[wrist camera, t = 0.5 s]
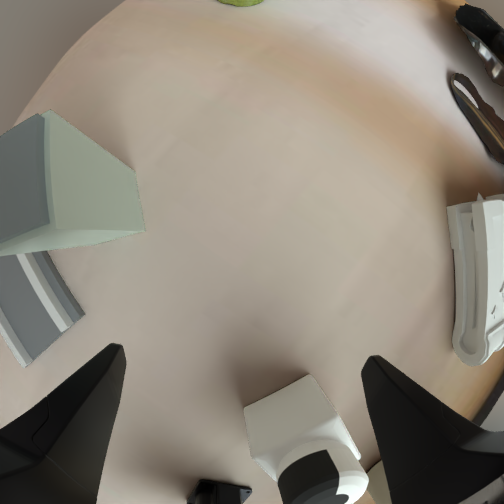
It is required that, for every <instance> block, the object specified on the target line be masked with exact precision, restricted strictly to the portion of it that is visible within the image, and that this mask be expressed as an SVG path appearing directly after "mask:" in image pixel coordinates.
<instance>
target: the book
mask: <svg viewBox="0 0 504 504" xmlns="http://www.w3.org/2000/svg"><path fill="white" fill-rule="evenodd" d="M446 208H447V216H448V225H449V232H450V241H451V249H454V261H455V280H456V321H455V326H454V331H453V336H452V343H453V347H454V351H455V353H456V354H457V356H458V357H459V358H460V359H461V361H462V362H463V363H465V364H466V365H469V366H477V365H482V364H483V363H484V362H486V360H487V359H488V358H489V357H490V356H491V354H492V353H493V352H495V351H499V350H500V349H501V348H502V347H503V346H504V194H497V195H493V196H488V197H486V200H484V199H483V198H482V196H481V195H480V194H479V193H478V197H477V201H472V202H466V203H460V204H456V205H452V206H448V207H446Z"/></svg>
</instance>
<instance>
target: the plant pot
mask: <svg viewBox="0 0 504 504" xmlns="http://www.w3.org/2000/svg"><path fill="white" fill-rule="evenodd" d="M218 1H219V2H221V3H224V4H227V3H228V4H233V5H236V6H252V5H256V4H258V3H261V2H262V1H264V0H218Z"/></svg>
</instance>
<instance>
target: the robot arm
mask: <svg viewBox="0 0 504 504" xmlns="http://www.w3.org/2000/svg"><path fill="white" fill-rule="evenodd" d="M125 370H126V357H125V353H124V349H123V346H122V345H121V344H116V343H111V344H109V345H108V346H107V347H105V348H104V349H103V350H102V351H100V352H99V353H98V354H97V355H96V356H94V357H93V358H92V359H91V360H89V361H88V362H87V363H86V364H84V365H83V366H82V367H81V368H80V369H78V370H77V371H76V372H75V373H74V374H72V375H71V376H70V377H69V378H67V379H66V380H65V381H64V382H63V383H61V384H60V385H59V386H58V387H57V388H55V389H54V390H53V391H52V392H51V393H49V394H48V395H47V397H45V398H43V399H42V400H41V401H40V402H39V403H37V404H36V405H35V406H34V407H32V408H31V409H30V410H28V411H27V412H25V413H24V414H23V415H21V416H20V417H18V418H17V419H15V420H14V421H12V422H11V423H9V424H8V425H6V426H4V427H3V428H1V429H0V504H96V501H97V495H98V490H99V485H100V480H101V475H102V470H103V466H104V461H105V457H106V453H107V449H108V445H109V441H110V437H111V433H112V429H113V425H114V422H115V418H116V414H117V411H118V407H119V403H120V398H121V393H122V387H123V381H124V375H125ZM361 377H362V382H363V387H364V393H365V398H366V403H367V408H368V412H369V415H370V419H371V422H372V426H373V429H374V433H375V436H376V440H377V444H378V447H379V451H380V455H381V459H382V463H383V467H384V471H385V475H386V480H387V484H388V488H389V491H390V492H389V493H390V498H391V503H392V504H504V431H499V432H492V431H487V430H484V429H482V428H481V427H479V426H478V425H476V424H474V423H473V422H471V421H469V420H468V419H466V418H464V417H463V416H461V415H460V414H458V413H456V412H455V411H454V410H452V409H451V408H449V407H448V406H447V405H445V404H444V403H443V402H441V401H440V400H439V399H437V398H436V397H435V396H433V395H432V394H431V393H429V392H428V391H426V390H425V389H424V388H422V387H421V386H420V385H418V384H417V383H416V382H414V381H413V380H412V379H410V378H409V377H408V376H406V375H405V374H404V373H402V372H401V371H400V370H398V369H397V368H396V367H394V366H393V365H392V364H391V363H389V362H388V361H387V360H385V359H384V358H383V357H381V356H379V355H374V356H370V357H369V358H368V359H367V361H366V363H365V365H364V367H363V369H362V371H361ZM251 493H252V489H251V488H246V487H240V486H234V485H228V484H223V483H217V482H213V481H208V480H199V482H198V484H197V485H196V487H195V489H194V490H193V492H192V493H191V495H190V497H189V498H188V500H187V504H243V503H244V502H245V500H246V499H247V498H248V497H249V496H250V494H251Z"/></svg>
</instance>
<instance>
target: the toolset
mask: <svg viewBox="0 0 504 504" xmlns="http://www.w3.org/2000/svg"><path fill="white" fill-rule="evenodd" d="M454 20H455V21H456V22H457V24H458V25H459V27H460V28H461V30H462V31H463V32H464V33H466V34H467V37H468V39H469V40H470V42H471V44H472V45H473V46H474V48H475V50H476V51H477V53H478V54H479V56H480V57H481V59H482V60H483V62H484V64H485V67H486V68H485V69H486V71H487V73H488V75H489V76H490V78H491V79H492V81H493V82H495V83H497V84H499V85H501V86H504V29H503V28H502V27H501V26H500V25H499V24H498V23H497V22H496V21H495V20H494V19H493V18H492V17H491V16H490V15H488V13H487V12H486V11H485V10H483V9H481V8H477V7H473V6H471V5H468V4H466V3H465V5H464V6H460V8H458V10H457V11H456V17H454ZM454 80H456V81H458V82H459V83H461V84H462V85H463V86H464V87H465V88H466V89H467V91H468V92H469V93H470V94H471V95H472V97H473V98H474V100H475V101H476V103H477V105H478V108H477V107H476V106H475V105H474V104H473V103H472V102H471V101H470V99H469V98H468V97H467V96H466V95H465V94H464V93H463V92H462V91H461V90H459V89H458V88H457V87H456V86H455V85H454ZM451 86H452V89H453V92H454V95H455V98H456V100H457V102H458V104H459V105H460V108H461V109H462V110H463V112H464V114H465V115H466V116H467V118H468V119H469V121H470V123H471V124H472V125H473V127H474V129H475V130H476V131H477V133H478V134H479V136H480V137H481V139H482V140H483V142H484V143H485V144H486V145H487V146H488V148H489V150H490V152H491V153H492V155H493V156H494V157H495V159H496V161H498V162H500V163H502V164H504V121H503V120H502V119H501V118H500V117H498V116H497V115H496V114H495V111H494V109H493V108H492V107H491V106H490V105H488V104H487V103H485V102H484V101H483V100H482V98H481V96H480V95H479V93H478V91H477V89H476V87H475V86H474V85H473V84H472V82H471V81H470V79H469V78H468V77H466V76H464V75H463V74H459V73H455V74H453V76H452V77H451Z"/></svg>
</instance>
